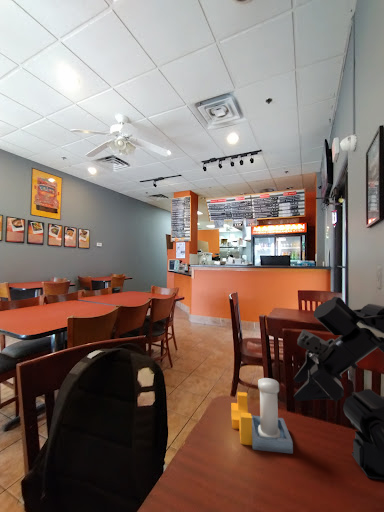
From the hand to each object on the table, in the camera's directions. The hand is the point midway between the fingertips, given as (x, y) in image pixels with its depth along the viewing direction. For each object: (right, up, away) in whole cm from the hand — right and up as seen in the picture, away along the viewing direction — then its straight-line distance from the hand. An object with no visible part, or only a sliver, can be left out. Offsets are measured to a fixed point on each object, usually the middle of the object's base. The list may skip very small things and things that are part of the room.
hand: (294, 389), depth 57 cm
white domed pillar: (-5, -13, +3) cm, 14 cm away
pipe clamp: (-12, -14, +6) cm, 19 cm away
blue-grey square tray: (-5, -14, +3) cm, 15 cm away
